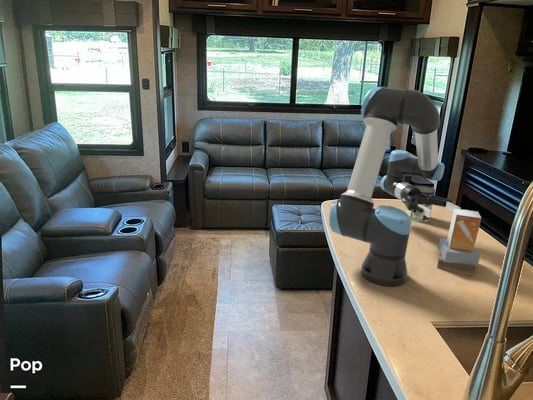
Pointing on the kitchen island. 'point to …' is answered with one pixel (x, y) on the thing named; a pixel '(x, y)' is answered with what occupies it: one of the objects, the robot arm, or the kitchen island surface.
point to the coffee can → (417, 215)
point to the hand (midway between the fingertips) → (445, 212)
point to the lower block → (456, 267)
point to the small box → (463, 229)
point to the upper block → (458, 254)
